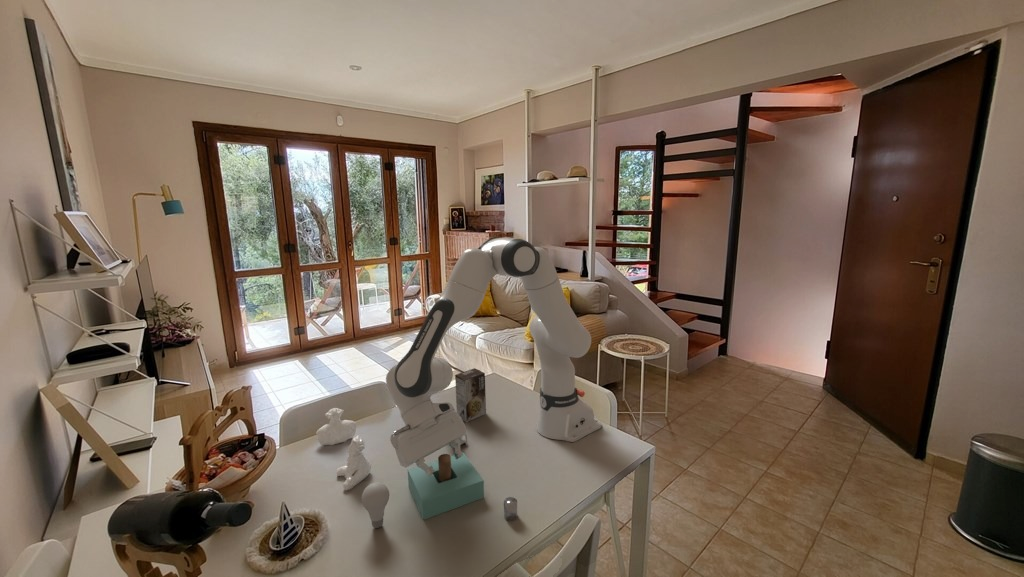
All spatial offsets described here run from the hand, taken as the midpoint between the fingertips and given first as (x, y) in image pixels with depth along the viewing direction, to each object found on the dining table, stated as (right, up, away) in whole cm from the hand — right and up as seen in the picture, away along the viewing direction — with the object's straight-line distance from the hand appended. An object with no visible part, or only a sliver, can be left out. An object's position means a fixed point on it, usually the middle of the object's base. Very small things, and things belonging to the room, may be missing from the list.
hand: (446, 465), depth 105 cm
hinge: (-2, -3, +30) cm, 30 cm away
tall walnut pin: (0, -8, +2) cm, 8 cm away
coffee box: (+2, 0, +42) cm, 42 cm away
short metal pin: (+17, -9, -7) cm, 20 cm away
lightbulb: (-14, -10, -10) cm, 20 cm away
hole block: (0, -8, +2) cm, 8 cm away
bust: (-40, -3, +27) cm, 48 cm away
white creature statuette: (-27, -7, +8) cm, 29 cm away
